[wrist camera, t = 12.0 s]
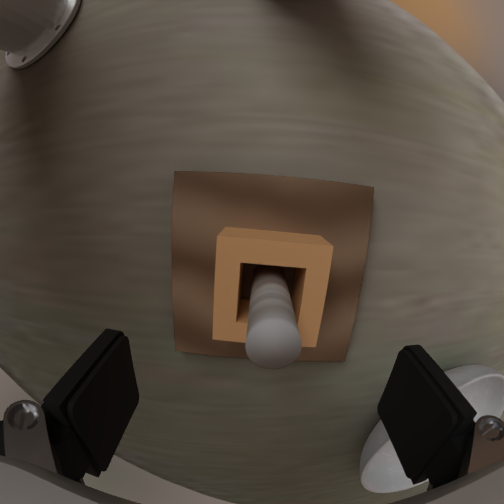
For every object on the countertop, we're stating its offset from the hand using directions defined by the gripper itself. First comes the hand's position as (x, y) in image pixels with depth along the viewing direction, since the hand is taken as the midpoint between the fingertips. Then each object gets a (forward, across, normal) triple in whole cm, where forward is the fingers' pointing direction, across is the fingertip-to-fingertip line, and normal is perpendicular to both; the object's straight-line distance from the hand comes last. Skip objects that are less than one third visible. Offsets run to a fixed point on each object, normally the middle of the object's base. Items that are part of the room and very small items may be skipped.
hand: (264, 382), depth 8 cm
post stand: (+14, -1, +1) cm, 15 cm away
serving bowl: (+14, -23, +19) cm, 33 cm away
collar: (+13, -1, +1) cm, 13 cm away
